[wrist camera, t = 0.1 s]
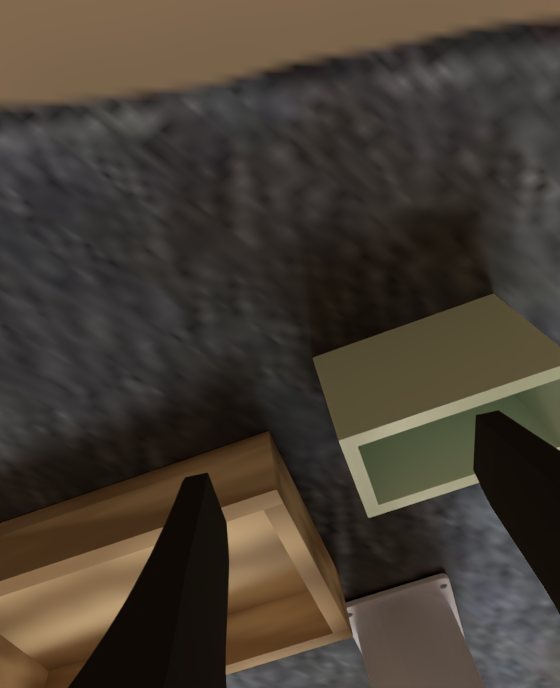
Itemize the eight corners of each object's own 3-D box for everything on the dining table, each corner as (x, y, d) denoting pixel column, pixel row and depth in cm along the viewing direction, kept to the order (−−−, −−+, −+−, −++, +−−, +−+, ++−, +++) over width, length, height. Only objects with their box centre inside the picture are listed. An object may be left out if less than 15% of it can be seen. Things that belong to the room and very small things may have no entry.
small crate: (501, 370, 24) (576, 451, 19) (338, 426, 25) (368, 518, 20) (492, 292, 22) (576, 360, 16) (311, 356, 22) (338, 440, 17)
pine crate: (338, 574, 31) (353, 636, 28) (49, 665, 33) (29, 733, 30) (268, 430, 24) (276, 489, 21) (-96, 556, 26) (-144, 629, 23)
